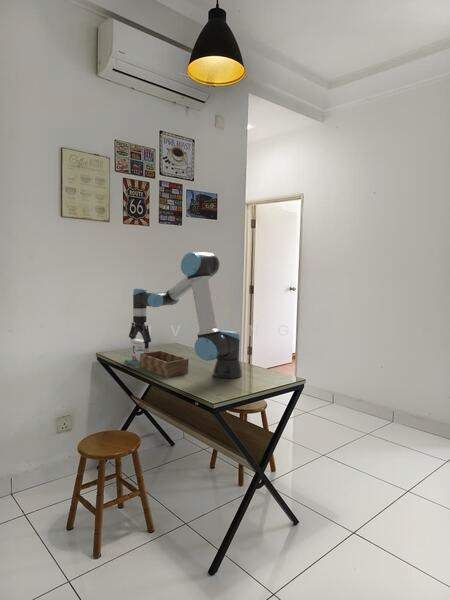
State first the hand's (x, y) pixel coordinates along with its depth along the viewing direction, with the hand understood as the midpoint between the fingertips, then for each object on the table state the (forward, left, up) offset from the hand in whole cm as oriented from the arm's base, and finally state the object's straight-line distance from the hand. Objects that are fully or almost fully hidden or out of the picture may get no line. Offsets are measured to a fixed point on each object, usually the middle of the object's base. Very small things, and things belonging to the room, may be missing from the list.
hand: (139, 351), depth 241 cm
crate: (-23, -1, -6) cm, 24 cm away
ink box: (-1, 0, -5) cm, 5 cm away
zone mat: (0, 0, -6) cm, 6 cm away
